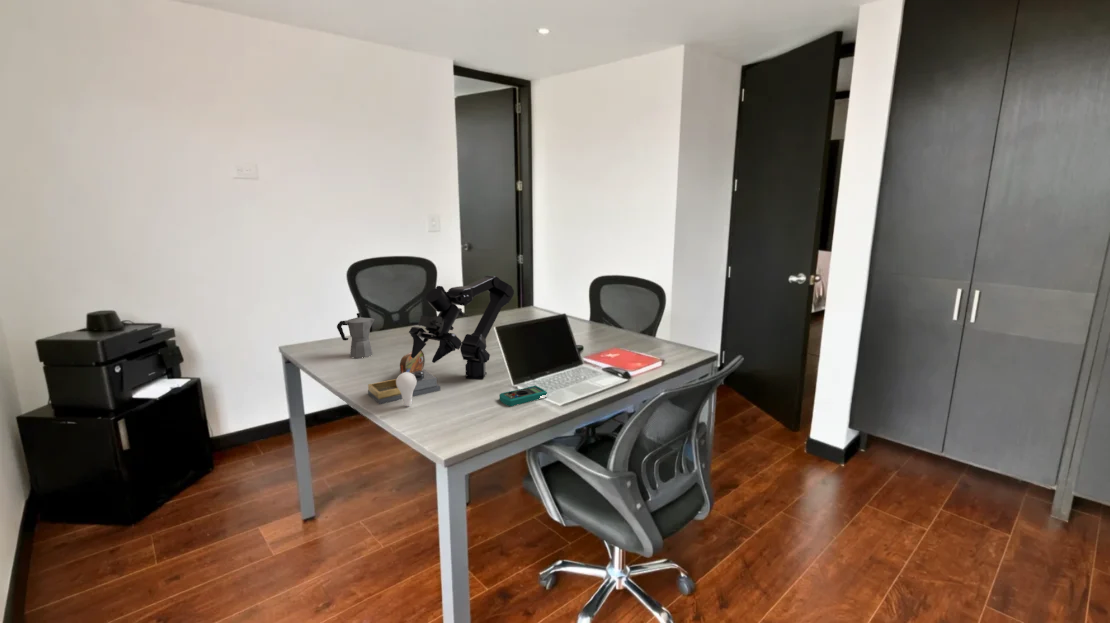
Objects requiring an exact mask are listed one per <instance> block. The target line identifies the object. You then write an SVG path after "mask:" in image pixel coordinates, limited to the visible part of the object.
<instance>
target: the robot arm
mask: <svg viewBox="0 0 1110 623" xmlns="http://www.w3.org/2000/svg"><path fill="white" fill-rule="evenodd" d="M485 292H488V293H489V295H488V296H489V303H488V305H487V306H486V308H485V310H484V312H483V314H482V316H481V318H480V320H479V322H478V323H477V326H476V327H475V330H474V331H473V333H471V334H469V333H467V334H465V335H464V338H463V340H461V339H460V338H459V337H458V336H457V334H455V333H452V332H450V331H453V330H454V327H453V325H454V323H455V321H456V320H457V318H458V317H462V318H463V316H464V312H463V310H462V308H460V307H458V306H467V305H469V304H470V303H471V302H473V300H474V298H475V297H476V296H479V295H480V294H483V293H485ZM514 292H515V291H514V288H513V286H512V285H510V284H509V283H508V282H505V281H503V280H502V279H500V278H499V276H495V275H484V277H482V278H481V279H478V280H476V281H473V282H471V283H468V284H467V285H461V286H460V285H459V286H453V287H450V288H449V289H448V290H447V291H446V290H445V288H444V287H443V286H442V285H436V286H435V288H433V289H431V290H430V291H428V292H427V294H426V295H425V300H426V302H428V304H429V305H430V306H431V307H432V309H434V311H436V312H438V314H437V315H435V316H433V317H431V316H426V315H420V317H419V321H418V324H417V325H418V326H411V328H410V330H409V331H408V333H409V334H410V337H411V338H412V340H413V341H412V342H413V343H412V344H413V345H412V349H411V351H412V354H411V357H412V358H414V357H415V356H416V355H417V354H418V353H419V352H420V351H421V350H422V351H423V349H424V348H425V347H426V346H427V342H428V341H429V340H433V341H436V342H437V341H438V342H439V345H438V348H436V352H435V353H434V355H433V356H432V357H433V358H432V360H431V362H432V363H433V364H435V363H436V362H438V361H439V360H441V359H443V358H444V357H446V355H448V354H450V353H452V352H455V351H456V350H460V353H461V357H462V360H464V361H466V363H465V364H464V365H465V379H472V380H473V379H475V380H484V378H485V377H486V376H485V375H487V371H486V363H488V361H490V356H491V354H490V353H489V352H488V351H487V350H486V349H487V340H486V339H487V337H488V335H489V333H490V331H491V329H492V327H493V325H494V323H495V322H496V319H497V317H498V316H499V313H500V311H501V310H502V308H503V307H504V306H506V305H508V304H509V303H510V301H511V300H512V298H513V297H514V294H515V293H514ZM420 326H422V327H420ZM423 327H425V328H423Z"/></svg>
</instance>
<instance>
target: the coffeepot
mask: <svg viewBox="0 0 1110 623" xmlns="http://www.w3.org/2000/svg"><path fill="white" fill-rule="evenodd" d="M375 321H376V319H375V318H372V317H361V313H359V312H357V313H356V317H354V318H349V319H348V320H346V319H345V320H340V321H339V322H338V323H337V324H336V329H337V331H338V333H339V335H340V337H341V339H342V341H348V340H349V337H346V336H345V335H346V334H345V333H344V329H343V328H342V326H347V327H348V330H349V334H350V338H351V341H350V342H351V343H350V344H351V345H350V354H349V357H350V358H352V357H354V358H353V359H365V358H364V357H367V358H369V356H370V357H372V356H373V354H374V353H373V349H372V344H371V340H370V331H371V327H372V326H373V323H374V322H375ZM371 355H372V356H371ZM362 357H363V358H362Z"/></svg>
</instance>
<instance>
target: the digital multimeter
mask: <svg viewBox="0 0 1110 623" xmlns="http://www.w3.org/2000/svg"><path fill="white" fill-rule="evenodd" d="M546 394H547V395H548V392H547V390H545V389H543V388H541V387H539V386H537V385H531V386H527V387H523V388H519V389H515V390H511V391H510V390H508V391H505V392H501V393H499V401H500V402H501V403H502V404H504V405H505V406H508V407H515V406H518V405H517V404H519V405H522V403H523V404H526V403H530V401H531V402H534V400H535V401H538V400H537V399H539V398H540V396H542V395H546ZM539 400H540V399H539ZM514 405H515V406H514Z"/></svg>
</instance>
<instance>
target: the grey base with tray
mask: <svg viewBox="0 0 1110 623" xmlns="http://www.w3.org/2000/svg"><path fill="white" fill-rule="evenodd" d="M412 374H413V375H414V376H415V377H416V380H417V383H416V386H415V388H414V390H413V395H412V398H413V397H417V396H421V395H425V394H430V393H434V391H435V392H439V391H441V385H439V384H438V382H437V381H438V380H437V379H438V378H437V377H436V376H434V374H431V373H430V372H428V371H426V370H425V369H422V371H415V372H413V373H412ZM396 380H397V378H394V379H388V380H384V381H378V382H374V383H373V382H372V383H369V384H367V387H368V388H367V395H369V396H370V397H371V398H372V399H373V400H375V402H376V403H378V404H379V405H381V404H386V402H387V403H390V401H391V402H394V400H395V401H399V399H400V400H403V399H402V395H401V392H400V390H399V389H398V387H397V385H396Z"/></svg>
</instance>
